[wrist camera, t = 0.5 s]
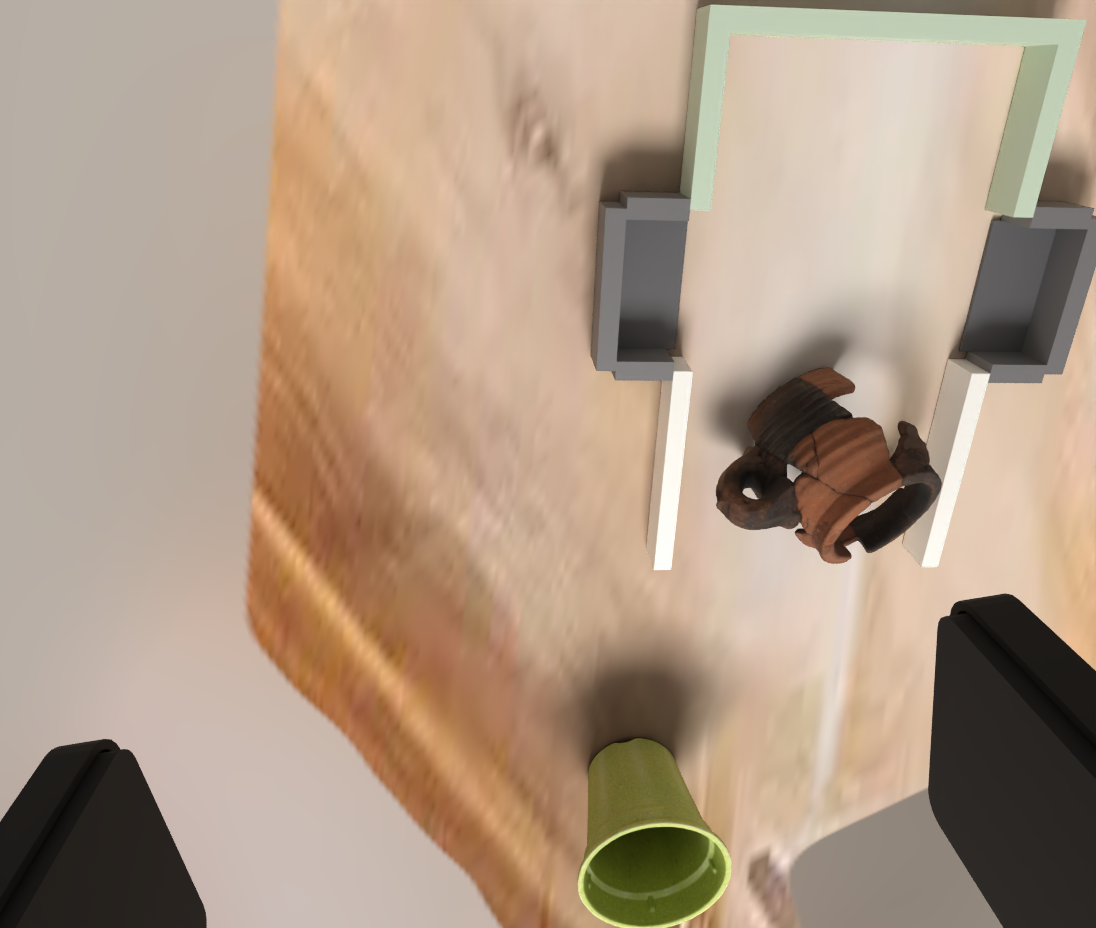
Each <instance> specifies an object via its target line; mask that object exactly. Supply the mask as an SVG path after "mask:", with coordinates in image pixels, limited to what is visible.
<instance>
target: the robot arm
mask: <svg viewBox="0 0 1096 928" xmlns="http://www.w3.org/2000/svg"><path fill="white" fill-rule="evenodd" d="M928 791H929V799H930V804H931V807H932V811H933V813H934V815H935V818H936V820H937V822H938V824H939V826H940V827H941V829H942V830H943V832H944V834H945V835H946V837H947V838H948V840H949V842H950V843H951V845H952V846H953V848H954V849H955V851H956V853H957V854H958V856H959V857H960V859H961V860H962V862H963V864H964V865H965V867H966V868H967V870H968V872H969V873H970V875H971V877H972V878H973V880H974V881H975V883H976V884H977V886H978V888H979V889H980V891H981V892H982V894H983V896H984V897H985V899H986V901H987V902H988V904H989V905H990V907H991V909H992V910H993V912H994V913H995V915H996V916H997V918H998V919H999V921H1000V923H1001V924H1002V926H1003V928H1096V671H1095V670H1094V669H1093V668H1092V667H1091V666H1090V665H1089V664H1087V663H1086V662H1085V661H1084V660H1083V659H1082V658H1081V657H1080V656H1079V655H1078V654H1077V653H1076V652H1075V651H1074V650H1072V649H1071V648H1070V647H1069V646H1068V645H1067V644H1066V643H1065V642H1064V641H1063V640H1062V639H1061V638H1060V637H1058V636H1057V635H1056V634H1055V633H1054V632H1053V631H1052V630H1051V629H1050V628H1049V627H1048V626H1047V625H1046V624H1044V623H1043V622H1042V621H1041V620H1040V619H1039V618H1038V617H1037V616H1036V615H1035V614H1034V613H1033V612H1032V611H1030V610H1029V609H1028V608H1027V607H1026V606H1025V605H1024V604H1023V603H1022V602H1021V601H1020V600H1019V599H1017V598H1016V597H1014V596H1013V595H1010V594H1000V595H994V596H988V597H981V598H975V599H969V600H963V601H958V602H956V603H955V604H954V605H953V607H952V609H951V614H950V616H945V617H943V618H941V619H940V621H939V623H938V630H937V647H936V665H935V682H934V699H933V717H932V734H931V751H930V768H929V786H928ZM0 928H206V912H205V909H204V906H203V903H202V901H201V899H200V897H199V895H198V892H197V890H196V888H195V886H194V884H193V882H192V880H191V877H190V875H189V873H188V871H187V869H186V866H185V864H184V862H183V860H182V858H181V856H180V853H179V851H178V849H177V847H176V845H175V843H174V841H173V838H172V836H171V834H170V832H169V829H168V827H167V825H166V823H165V821H164V819H163V817H162V814H161V812H160V810H159V808H158V806H157V803H156V801H155V799H154V797H153V795H152V793H151V790H150V788H149V786H148V784H147V782H146V780H145V778H144V776H143V773H142V771H141V769H140V767H139V764H138V762H137V760H136V758H135V756H134V755H133V753H132V752H130V751H129V750H126V749H122V750H120V748H119V747H118V745H117V744H116V743H115V742H113V741H112V740H109V739H102V740H96V741H91V742H84V743H78V744H72V745H65V746H59V747H57V748H54V749H53V750H51V751H50V752H49V753H48V754H47V755H46V756H45V757H44V759H43V760H42V762H41V763H40V765H39V766H38V768H37V769H36V770H35V772H34V773H33V775H32V776H31V778H30V779H29V781H28V782H27V784H26V785H25V786H24V788H23V789H22V791H21V792H20V794H19V795H18V797H17V798H16V800H15V801H14V803H13V804H12V805H11V807H10V808H9V810H8V811H7V813H6V814H5V816H4V817H3V819H2V820H1V822H0Z"/></svg>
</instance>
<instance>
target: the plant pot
mask: <svg viewBox="0 0 1096 928" xmlns="http://www.w3.org/2000/svg"><path fill="white" fill-rule="evenodd" d="M731 868H732V866H731V858H730V855H729V852H728V850H727V848H726V846H725V844H724V843H723V841H722V840H721V839H720V838H719V837H718V836H717V835H716V834H715V833H714V832H712V830H711V829H710V827H709V826H708V825H707V824H706V822H705V821H704V820H703V819H702V817H701V815H700V813H699V811H698V809H697V807H696V805H695V803H694V801H693V799H692V797H691V794H690V792H689V790H688V788H687V786H686V784H685V782H684V780H683V777H682V775H681V773H680V771H679V769H678V767H677V764H676V762H675V760H674V758H673V756H672V755H671V753H670V752H669V751H668V750H667V749H666V748H665V747H664V746H662V745H661V744H659V743H657V742H655V741H652V740H648V739H641V738H636V739H633V740H631V741H629V742H625V743H613V744H611V745H609V746H607V747H606V748H604V749H603V750H602V751H600V752H599V753H598V754H597V755H596V757H595V758H594V759H593V761H592V763H591V765H590V768H589V772H588V834H587V847H586V850H585V854H584V860H583V862H582V864H581V866H580V870H579V874H578V891H579V895H580V898H581V900H582V902H583V903H584V905H585V906H586V907H587V908H588V909H589V911H590V912H591V913H592V914H594V915H595V916H596V917H597V918H599V919H601V920H603V921H605V922H607V923H610V924H612V925H614V926H618V927H622V928H665V927H669V926H673V925H677V924H680V923H682V922H685V921H687V920H690V919H692V918H694V917H695V916H697V915H699V914H701V913H702V912H704V911H705V910H707V909H708V908H709V907H710V906H711V905H712V904H714V903H715V902H716V901H717V900H718V899H719V897H720V896H721V895H722V894H723V892H724V891H725V889H726V887H727V885H728V882H729V879H730V876H731Z"/></svg>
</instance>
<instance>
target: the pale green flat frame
mask: <svg viewBox="0 0 1096 928" xmlns="http://www.w3.org/2000/svg"><path fill="white" fill-rule="evenodd" d="M1086 21H1087V20H1076V19H1051V18H1027V17H1003V16H978V15H954V14H930V13H905V12H881V11H857V10H832V9H808V8H784V7H759V6H735V5H711V4H710V5H707V6H705V7H702V8H699V9H697V14H696V24H695V35H694V46H693V56H692V67H691V77H690V88H689V99H688V109H687V120H686V131H685V141H684V152H683V162H682V173H681V184H680V192H639V191H620V198H619V202H616V201H599V216H598V234H597V253H596V271H595V289H594V308H593V326H592V344H591V358H592V360H593V363H594V366H595V368H596V371H611V372H612V374H613V376H614V379H615V380H643V381H662V385H661V396H660V407H659V417H658V428H657V439H656V449H655V460H654V470H653V481H652V492H651V502H650V513H649V523H648V534H647V545H646V548H647V551H648V554H649V557H650V560H651V563H652V566H653V569H654V570H671V565H672V556H673V547H674V538H675V529H676V520H677V511H678V502H679V493H680V484H681V474H682V465H683V456H684V447H685V438H686V429H687V420H688V411H689V402H690V393H691V384H692V375H693V371H692V370H691V368H690V367H689V365H688V364H687V363H686V361H685V360H684V358H683V357H671V356H670V354H669V353H668V351H667V350H666V349H675V343H676V333H677V323H678V313H679V303H680V293H681V283H682V273H683V263H684V253H685V243H686V233H687V223H688V221H689V214H690V210H707V211H711V203H712V194H713V185H714V176H715V167H716V158H717V149H718V140H719V131H720V122H721V113H722V103H723V94H724V85H725V76H726V67H727V58H728V49H729V40H730V35H739V36H765V37H791V38H818V39H844V40H870V41H896V42H922V43H948V44H974V45H1000V46H1025V50H1024V54H1023V58H1022V62H1021V66H1020V70H1019V75H1018V79H1017V83H1016V87H1015V91H1014V95H1013V99H1012V103H1011V107H1010V111H1009V115H1008V119H1007V123H1006V127H1005V131H1004V135H1003V139H1002V143H1001V147H1000V151H999V155H998V159H997V163H996V167H995V172H994V176H993V180H992V184H991V188H990V192H989V196H988V200H987V204H986V208H985V210H987V211H991V212H995V213H999V214H1003V215H1002V218H1001V220H992V221H991V225H990V229H989V233H988V237H987V241H986V245H985V249H984V253H983V257H982V261H981V265H980V269H979V273H978V277H977V281H976V285H975V289H974V293H973V297H972V301H971V304H970V308H969V312H968V316H967V320H966V324H965V328H964V332H963V336H962V340H961V344H960V348H959V351H961V352H967V355H966V359H948V361H947V365H946V370H945V374H944V378H943V382H942V386H941V390H940V394H939V398H938V402H937V406H936V410H935V414H934V418H933V422H932V426H931V430H930V434H929V438H928V442H927V446H926V448H927V450H928V452H929V457H930V463H929V465H931V466H932V468H933V469H934V470H935V472H936V473H937V474H938V475H939V477H940V479H941V482H942V486H941V491H940V493H939V494H938V496H937V498H936V500H935V501H934V503H933V504H932V505H931V506H930V508H929V509H928V511H926V512H925V513H924V514H923V515H922V516H921V517H920V518H919V519H918V520H917V521H916V522H915V523H914V524H913V525H912V526H911V527H910V528H909V529H908V530H906V531H905V535H904V539H903V543H902V546H903V547H904V548H905V549H906V550H907V552H908V553H909V554H910V555H911V556H912V557H913V558H914V559H915V561H916V562H917V563H918V564H919V565H920V566H921V567H938V564H939V560H940V557H941V553H942V549H943V546H944V542H945V538H946V535H947V531H948V527H949V524H950V520H951V516H952V513H953V509H954V505H955V501H956V498H957V494H958V490H959V487H960V483H961V479H962V476H963V472H964V468H965V465H966V461H967V457H968V454H969V450H970V446H971V443H972V439H973V435H974V432H975V428H976V424H977V421H978V417H979V413H980V410H981V406H982V402H983V399H984V395H985V391H986V388H987V384H988V383H1042V380H1043V377H1044V374H1062V373H1063V370H1064V367H1065V363H1066V360H1067V357H1068V354H1069V351H1070V347H1071V344H1072V341H1073V338H1074V335H1075V331H1076V328H1077V325H1078V322H1079V319H1080V315H1081V312H1082V309H1083V306H1084V302H1085V299H1086V296H1087V293H1088V290H1089V286H1090V283H1091V280H1092V277H1093V274H1094V270H1095V267H1096V216H1093V215H1092V214H1093V211H1094V208H1090V207H1085V206H1080V205H1076V204H1071V203H1066V202H1060V201H1037V200H1038V197H1039V193H1040V189H1041V186H1042V182H1043V178H1044V175H1045V171H1046V167H1047V164H1048V160H1049V156H1050V153H1051V149H1052V145H1053V142H1054V138H1055V134H1056V131H1057V127H1058V123H1059V120H1060V116H1061V112H1062V109H1063V105H1064V101H1065V98H1066V94H1067V90H1068V87H1069V83H1070V79H1071V76H1072V72H1073V68H1074V65H1075V61H1076V57H1077V54H1078V50H1079V46H1080V43H1081V39H1082V35H1083V32H1084V28H1085V24H1086Z"/></svg>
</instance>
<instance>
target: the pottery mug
mask: <svg viewBox="0 0 1096 928" xmlns="http://www.w3.org/2000/svg"><path fill="white" fill-rule="evenodd" d="M854 390H855V385H854V383H853V382H852V381H850V380H849V379H847V378H845V377H844V376H842V375H841V374H839V373H837V372H836V371H834V370H833V369H831V368H822V369H817V370H814V371H810V372H808V373H806V374H804V375H801V376H800V377H798V378H795V379H793V380H791V381H790V382H788V383H787V384H785V385H783V386H780V387H779V388H778V389H777V390H776V391H775V392H774V393H772V394H771V395H769V396H768V397H767V398H766V399H765V400H764V401H763V402H762V403H761V404H760V405H759V407H758V408H757V410H756V411H755V412H754V413H753V415H752V417H751V418H750V420H749V422H748V427H749V429H750V430H751V432H752V437H753V440H754V441H755V447H749V448H747V449H746V450H745V452H744V454H743V456H742V457H740V458H738V459H737V460H736V461H734V462H733V463H732V464H731V465H730V466H729V467H728V468H727V469H726V470H725V471H724V472H723V473H722V475H721V476H720V478H719V481H718V484H717V487H716V496H717V504H716V506H717V508H718V509H719V510H720V511H721V512H722V513H723V514H724V515H725V517H726V518H727V519H728V520H729V521H730V522H731V523H733V524H734V525H736V526H738V527H741V528H744V529H748V530H760V529H768V528H772V527H777V526H781V527H783V528H786V529H792V528H794V527H796V526H797V525H798V523H799V522H800V523H801V524H802V527H803V528H804V529H797V530H796V531H795V535H796V536H797V537H798V539H799V540H800V541H801V542H802V543H803V544H805V545H807V546H809V547H813V548H816V549H817V550H818V552H819V554H820V556H821V558H822V559H823V560H824V561H826V562H828V563H833V564H835V563H836V564H838V563H844V562H847V561H848V560H849V559H851V553H850V552H849V551H848V550H847V548H846V547H845V546H848V545H850V544H851V543H853V542H855V541H859V542H860V543H861V544H862V545H863V547H864V549H865V550H866V552H867V553H872V552H875V551H877V550H878V549H880V548H882V547H883V546H885V545H887V544H888V543H890V542H891V541H893V540H895V539H896V538H897V537H899V536H900V535H901V534H903V533H904V532H905V531H906V530H908V529H909V528H910V527H911V526H912V525H913V524H914V523H915V522H916V521H917V520H918V519H919V518H920V517H921V516H922V515H923V514H924V513H925V512H926V511H928V509H929V508H930V506H931V505H932V504H933V503H934V501H935V500H936V498H937V496H938V494H939V493H940V491H941V486H942V482H941V479H940V477H939V475H938V474H937V473H936V472H935V470H934V469H933V468H932V466H931V465H929V463H930V457H929V452H928V450H927V448H926V443H925V442H923V441H922V440H921V438H920V437H919V435H918V431H917V429H916V427H915V426H914V425H912V424H910V423H907V422H905V421H900V422H899V423H898V430H899V433H900V438H899V441H898V446H897V448H896V451H895V452H894V454H893V455H892V457H891V458H890V459H889V450H888V448H887V446H886V440H885V437H884V434H883V430H882V427H881V426H880V425H878V424H876V422H874V421H873V420H871V419H869V418H865V417H863V418H859V417H858V418H853V417H852V414H851V413H850V412H849V411H847V410H846V409H845V408H843V407H842V406H840V405H838V404H837V403H836V402H835V401H833V400H832V399H834V398H835V397H839V396H841V395H845V394H850V393H853V392H854ZM787 464H790V465H793V466H794V467H796V468H797V469H799V470H800V471H802V473H801V474H800V475H799V476H798V477H796V479H795V481H794V482H792V481H791V480H790V479H788V478H787ZM902 486H905V487H904V489H903V488H900V487H902ZM744 488H751V489H752V490H753V491H754V493H755V495H756V497H757V498H758V499H757V500H756V499H751V498H748V497H746V496H745V495H744V494H743V493H742V492H743V490H744ZM896 489H897V490H896ZM894 490H896V491H895V492H894V493H893V494H892V495H891V496H890V497H889V498H888V499H887V500H886V501H885V502H884V503H883V504H881V505H880V506H879V507H878V508H876V509H875V510H872V511H870V512H868V513H865V514H862V515H859V514H860V513H861V512H862V511H864V510H865V509H866V508H867V507H869V506H870V505H871V503H872V502H875V501H877V500H879V499H880V498H882V497H883V496H885V495H887V494H889V493H891V492H892V491H894ZM858 515H859V516H858Z"/></svg>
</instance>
